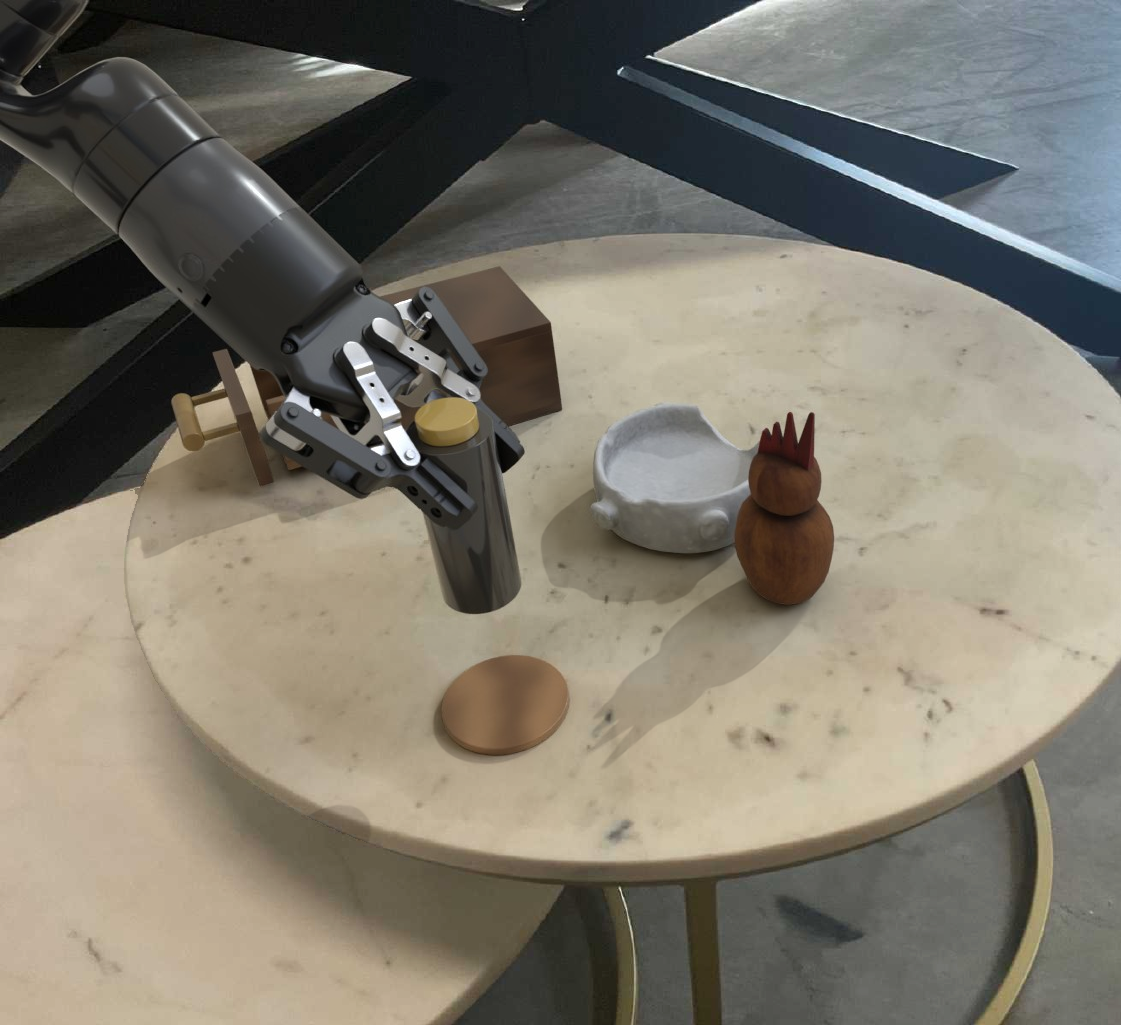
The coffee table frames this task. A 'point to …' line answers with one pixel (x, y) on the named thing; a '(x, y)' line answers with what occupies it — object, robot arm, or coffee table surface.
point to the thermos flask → (487, 538)
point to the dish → (670, 480)
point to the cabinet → (500, 344)
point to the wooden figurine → (785, 518)
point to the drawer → (242, 413)
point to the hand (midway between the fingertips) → (490, 490)
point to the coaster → (505, 704)
